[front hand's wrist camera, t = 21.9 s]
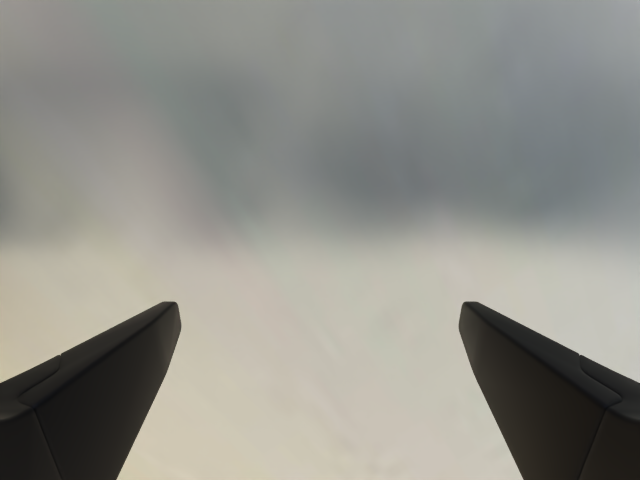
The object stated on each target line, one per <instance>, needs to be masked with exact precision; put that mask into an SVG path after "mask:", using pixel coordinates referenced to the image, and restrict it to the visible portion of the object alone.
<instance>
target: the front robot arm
mask: <svg viewBox="0 0 640 480" xmlns="http://www.w3.org/2000/svg"><path fill="white" fill-rule="evenodd" d="M180 332H181V320H180V314H179V308H178V305H177V303H176V302H161V303H159V304H157V305H155V306H154V307H152V308H150V309H148V310H146V311H144V312H142V313H140V314H138V315H136V316H134V317H132V318H130V319H128V320H126V321H124V322H122V323H120V324H118V325H116V326H114V327H112V328H110V329H109V330H107V331H105V332H103V333H101V334H99V335H97V336H95V337H93V338H91V339H89V340H87V341H85V342H83V343H81V344H79V345H77V346H75V347H73V348H71V349H69V350H67V351H65V352H63V353H62V354H61V356H60V355H57V356H55V357H54V358H52V359H50V360H48V361H46V362H44V363H42V364H40V365H38V366H36V367H34V368H32V369H30V370H28V371H25V372H23V373H21V374H19V375H17V376H15V377H12V378H10V379H8V380H6V381H4V382H2V383H0V480H116V479H117V477H118V475H119V473H120V471H121V469H122V467H123V465H124V462H125V460H126V458H127V456H128V454H129V452H130V450H131V448H132V445H133V443H134V441H135V439H136V437H137V435H138V433H139V431H140V428H141V426H142V424H143V422H144V420H145V418H146V416H147V414H148V412H149V409H150V407H151V405H152V403H153V401H154V399H155V397H156V395H157V392H158V390H159V388H160V386H161V384H162V382H163V380H164V377H165V375H166V373H167V370H168V367H169V365H170V362H171V359H172V356H173V353H174V350H175V347H176V344H177V341H178V338H179V335H180ZM459 332H460V335H461V338H462V341H463V344H464V347H465V350H466V353H467V356H468V359H469V362H470V365H471V367H472V370H473V373H474V375H475V377H476V380H477V382H478V384H479V386H480V388H481V390H482V392H483V395H484V397H485V399H486V401H487V403H488V405H489V407H490V409H491V412H492V414H493V416H494V418H495V420H496V422H497V424H498V426H499V428H500V431H501V433H502V435H503V437H504V439H505V441H506V443H507V445H508V448H509V450H510V452H511V454H512V456H513V458H514V460H515V462H516V465H517V467H518V469H519V471H520V473H521V475H522V477H523V479H524V480H640V383H638V382H636V381H634V380H632V379H630V378H628V377H625V376H623V375H621V374H619V373H617V372H615V371H612V370H610V369H608V368H606V367H604V366H602V365H600V364H598V363H596V362H594V361H592V360H590V359H588V358H586V357H585V356H583V355H580V356H579V354H578V353H577V352H575V351H573V350H571V349H569V348H567V347H565V346H563V345H561V344H559V343H557V342H555V341H553V340H551V339H549V338H547V337H545V336H543V335H541V334H539V333H537V332H535V331H533V330H531V329H530V328H528V327H526V326H524V325H522V324H520V323H518V322H516V321H514V320H512V319H510V318H508V317H506V316H504V315H502V314H500V313H498V312H496V311H494V310H492V309H490V308H488V307H486V306H485V305H483V304H481V303H479V302H464V303H463V305H462V308H461V314H460V320H459Z"/></svg>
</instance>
